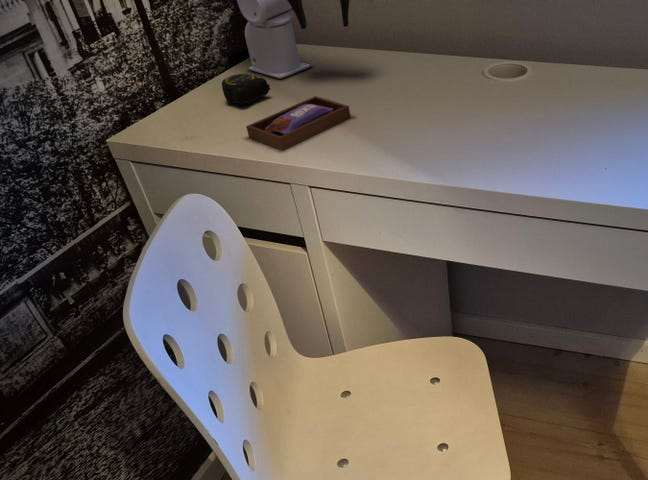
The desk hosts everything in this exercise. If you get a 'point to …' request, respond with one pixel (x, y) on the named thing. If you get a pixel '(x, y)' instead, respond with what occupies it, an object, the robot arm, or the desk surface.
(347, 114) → the tray
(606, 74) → the desk surface
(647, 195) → the desk surface
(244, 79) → the tape measure
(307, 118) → the snack package
